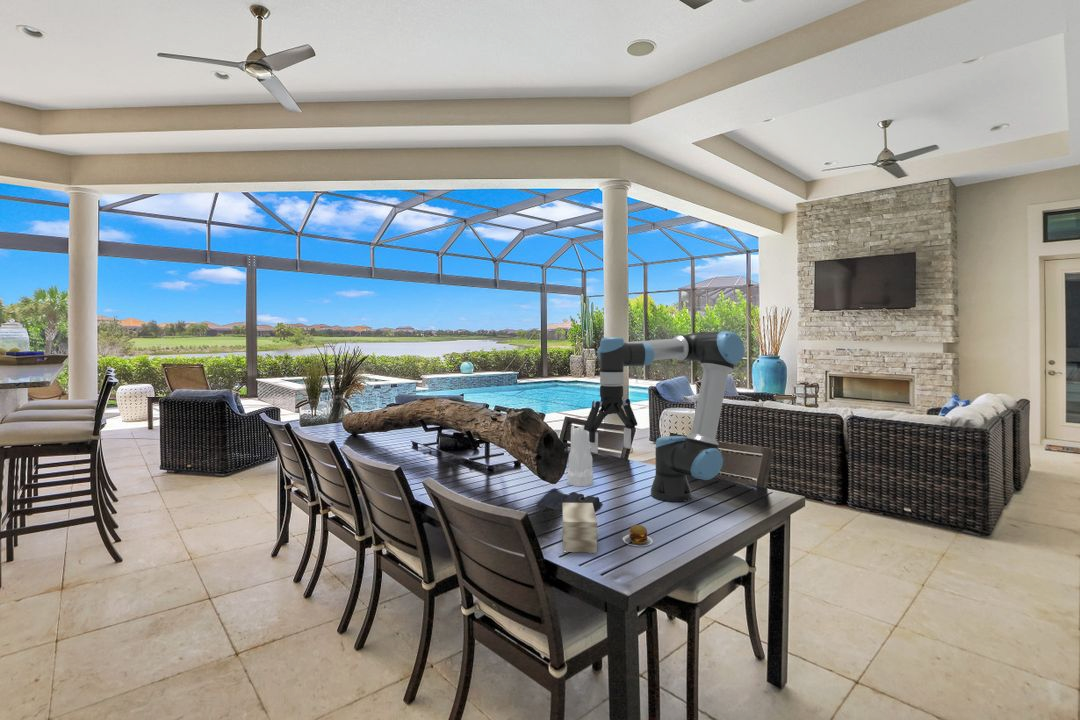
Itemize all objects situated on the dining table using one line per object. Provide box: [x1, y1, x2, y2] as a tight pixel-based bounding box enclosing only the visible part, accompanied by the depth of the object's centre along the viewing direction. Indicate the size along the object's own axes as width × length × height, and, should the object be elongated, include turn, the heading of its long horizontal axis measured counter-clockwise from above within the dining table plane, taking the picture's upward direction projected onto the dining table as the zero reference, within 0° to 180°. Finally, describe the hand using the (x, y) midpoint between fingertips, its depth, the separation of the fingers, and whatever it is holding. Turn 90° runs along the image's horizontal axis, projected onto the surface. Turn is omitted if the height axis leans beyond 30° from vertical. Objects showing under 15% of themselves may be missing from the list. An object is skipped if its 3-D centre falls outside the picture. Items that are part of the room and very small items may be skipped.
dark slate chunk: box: [536, 491, 603, 512], centre depth 184 cm, size 15×22×5 cm
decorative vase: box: [567, 424, 594, 487], centre depth 213 cm, size 11×11×25 cm
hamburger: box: [622, 524, 654, 547], centre depth 151 cm, size 12×12×6 cm
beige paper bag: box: [561, 503, 598, 554], centre depth 151 cm, size 10×17×9 cm, turn 178°
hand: (611, 450), depth 165 cm, fingers open, 13 cm apart
